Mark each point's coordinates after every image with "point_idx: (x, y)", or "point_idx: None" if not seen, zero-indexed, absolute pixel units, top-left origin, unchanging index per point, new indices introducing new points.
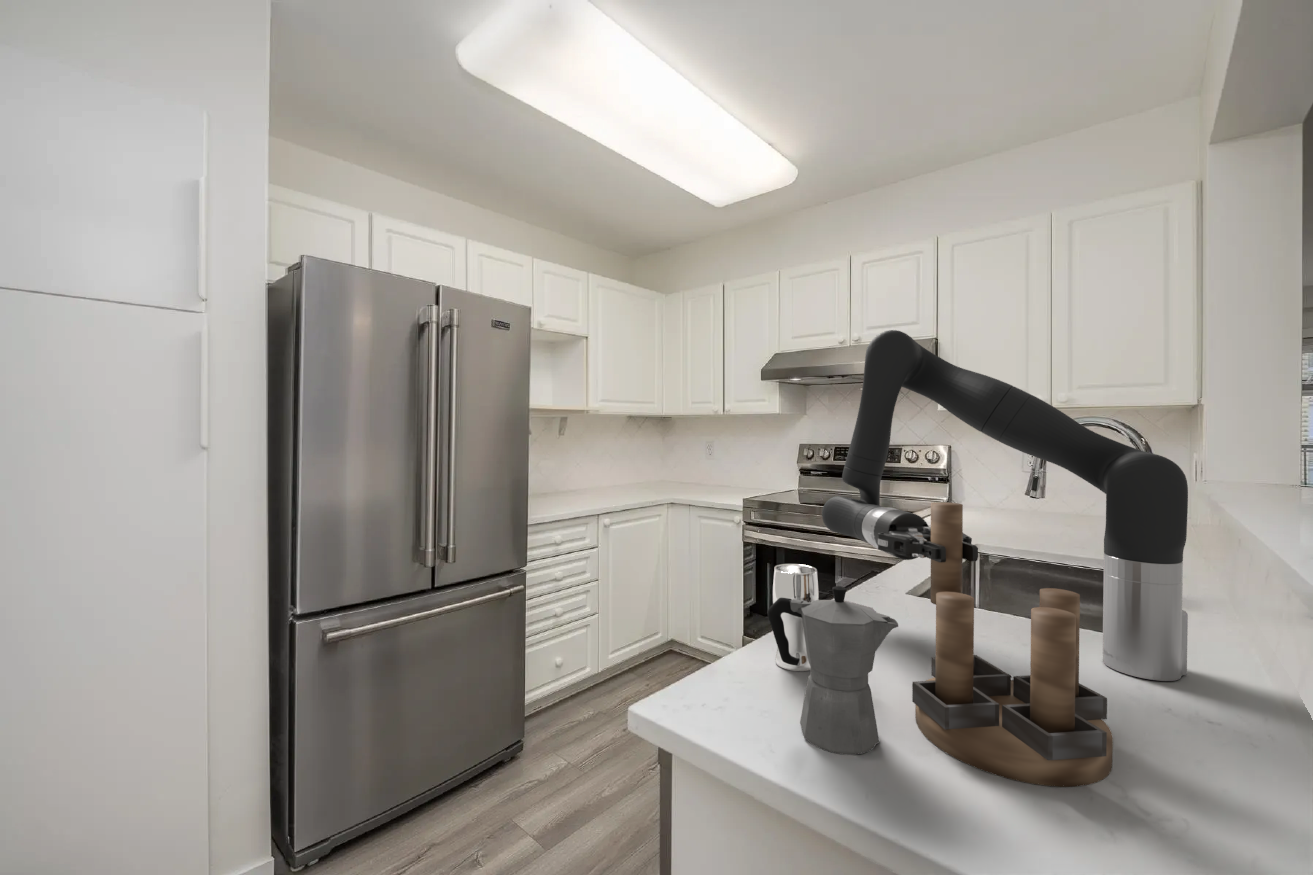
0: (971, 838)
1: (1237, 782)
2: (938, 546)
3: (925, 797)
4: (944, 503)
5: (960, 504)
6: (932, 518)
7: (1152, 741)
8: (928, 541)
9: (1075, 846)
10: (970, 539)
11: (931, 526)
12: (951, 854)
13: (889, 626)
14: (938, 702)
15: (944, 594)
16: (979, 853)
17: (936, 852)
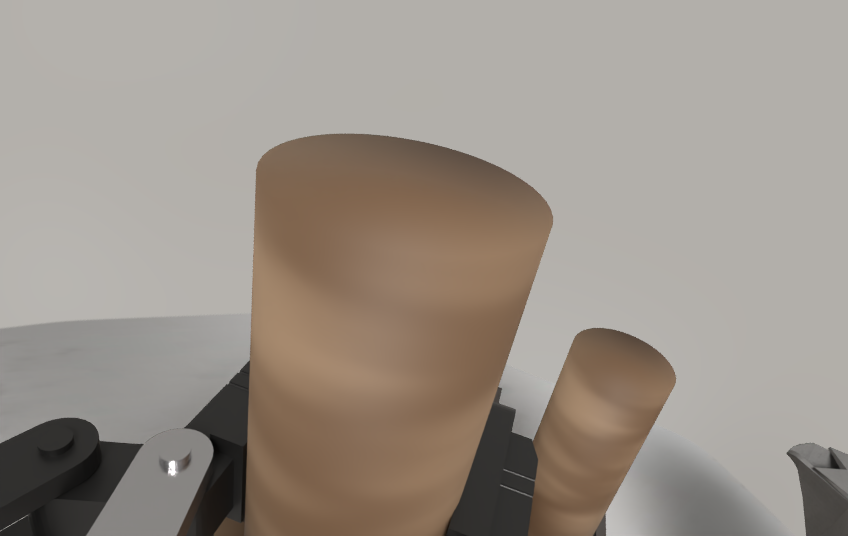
0: (650, 449)
1: (233, 347)
2: (511, 422)
3: (670, 515)
4: (390, 195)
5: (322, 141)
6: (509, 351)
7: (181, 420)
8: (465, 532)
9: (544, 396)
10: (79, 424)
11: (484, 421)
12: (687, 447)
13: (815, 460)
14: (604, 529)
15: (643, 379)
16: (655, 435)
17: (703, 455)
